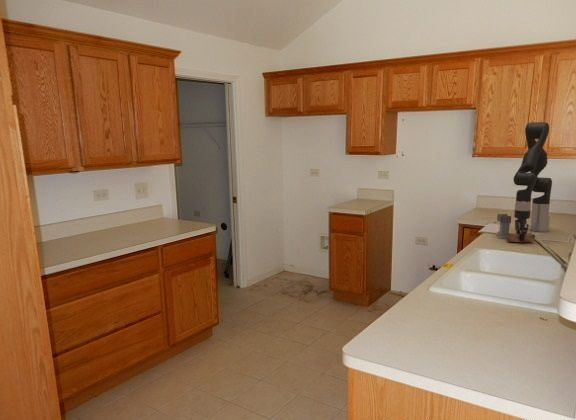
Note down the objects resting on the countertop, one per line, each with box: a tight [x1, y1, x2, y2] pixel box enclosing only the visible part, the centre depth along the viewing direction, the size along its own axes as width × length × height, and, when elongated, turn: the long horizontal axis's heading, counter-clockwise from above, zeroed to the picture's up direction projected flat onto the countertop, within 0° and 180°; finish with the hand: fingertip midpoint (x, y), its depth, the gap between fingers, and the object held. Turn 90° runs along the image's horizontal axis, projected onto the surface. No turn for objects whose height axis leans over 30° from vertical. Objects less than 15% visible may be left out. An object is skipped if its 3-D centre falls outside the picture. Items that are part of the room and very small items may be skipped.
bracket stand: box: [495, 213, 524, 240], centre depth 238 cm, size 15×8×13 cm, turn 79°
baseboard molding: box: [477, 221, 500, 235], centre depth 264 cm, size 31×3×12 cm
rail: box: [505, 232, 536, 243], centre depth 226 cm, size 13×4×4 cm, turn 84°
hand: (520, 239), depth 226 cm, fingers closed on rail, 4 cm apart
